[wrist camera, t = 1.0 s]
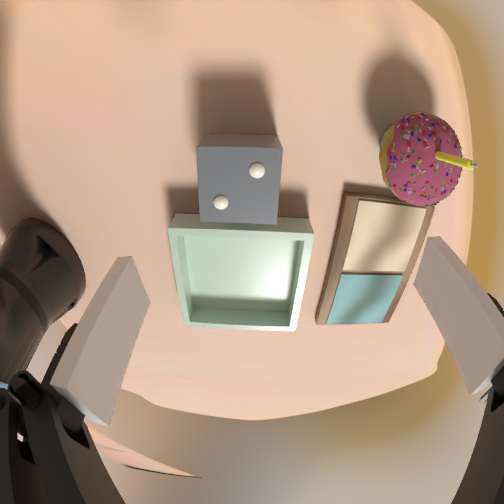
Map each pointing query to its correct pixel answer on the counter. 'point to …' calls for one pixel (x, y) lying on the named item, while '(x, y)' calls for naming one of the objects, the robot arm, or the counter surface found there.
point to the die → (239, 178)
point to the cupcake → (421, 159)
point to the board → (371, 258)
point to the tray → (240, 271)
